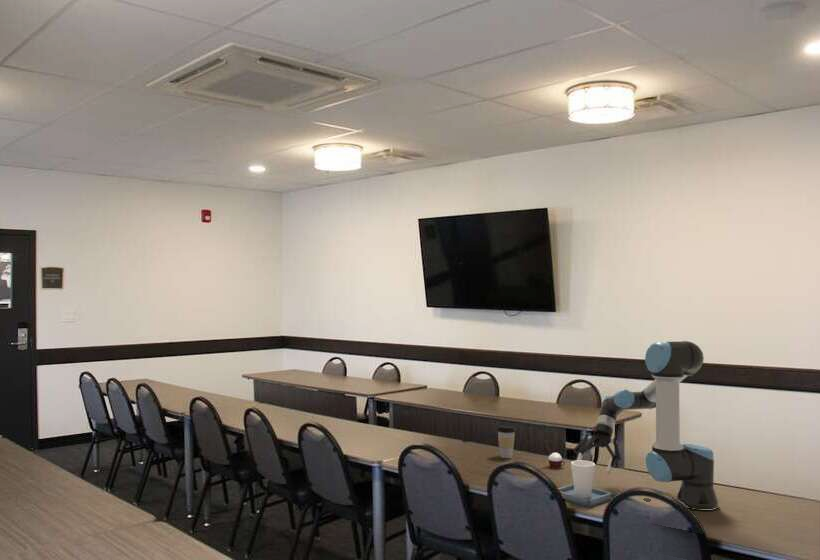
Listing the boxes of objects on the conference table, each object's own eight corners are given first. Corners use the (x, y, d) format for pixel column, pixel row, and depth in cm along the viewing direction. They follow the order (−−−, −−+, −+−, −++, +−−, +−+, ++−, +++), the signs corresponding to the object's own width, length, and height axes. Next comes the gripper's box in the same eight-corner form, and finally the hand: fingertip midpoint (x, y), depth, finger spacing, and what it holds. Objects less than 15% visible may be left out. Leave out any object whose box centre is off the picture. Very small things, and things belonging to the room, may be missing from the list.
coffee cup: (495, 458, 338) (495, 428, 338) (498, 453, 347) (498, 424, 347) (514, 459, 336) (514, 429, 336) (517, 455, 345) (517, 425, 345)
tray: (613, 499, 276) (613, 493, 276) (589, 507, 266) (589, 501, 266) (576, 488, 290) (576, 482, 290) (552, 496, 280) (552, 490, 280)
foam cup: (592, 492, 282) (592, 460, 282) (596, 499, 273) (596, 466, 273) (569, 491, 283) (569, 459, 283) (572, 498, 274) (572, 466, 274)
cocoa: (566, 468, 322) (567, 443, 322) (557, 470, 318) (559, 444, 318) (550, 463, 329) (551, 438, 329) (541, 465, 325) (543, 440, 325)
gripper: (635, 436, 294) (624, 479, 282) (579, 429, 309) (566, 470, 296) (631, 426, 290) (620, 469, 278) (575, 419, 304) (561, 460, 292)
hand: (592, 470), depth 287 cm, fingers open, 13 cm apart
